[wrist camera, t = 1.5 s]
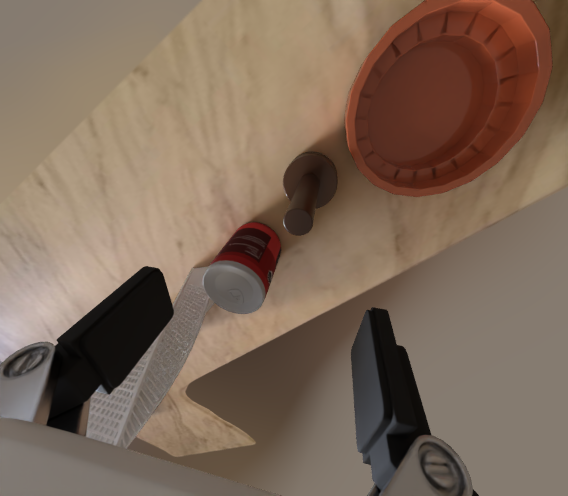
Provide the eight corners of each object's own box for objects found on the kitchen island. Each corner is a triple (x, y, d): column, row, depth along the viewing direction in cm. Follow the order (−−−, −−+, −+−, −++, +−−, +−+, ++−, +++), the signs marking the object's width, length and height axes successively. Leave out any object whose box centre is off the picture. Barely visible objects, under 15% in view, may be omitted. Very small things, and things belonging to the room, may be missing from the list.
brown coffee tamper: (285, 199, 31) (259, 250, 20) (288, 149, 27) (258, 177, 16) (332, 205, 30) (331, 261, 19) (341, 154, 26) (347, 188, 16)
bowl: (333, 175, 28) (333, 187, 24) (363, 8, 20) (370, -17, 16) (459, 188, 26) (483, 204, 22) (548, 12, 18) (611, -16, 14)
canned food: (255, 269, 39) (230, 320, 29) (225, 233, 36) (188, 277, 27) (292, 253, 35) (277, 304, 26) (262, 211, 32) (235, 253, 23)
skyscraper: (222, 258, 39) (52, 489, 15) (238, 290, 42) (120, 518, 19) (184, 263, 41) (-11, 470, 18) (202, 293, 44) (59, 499, 21)
